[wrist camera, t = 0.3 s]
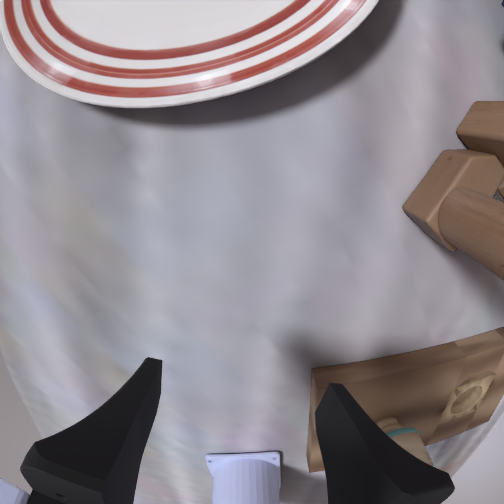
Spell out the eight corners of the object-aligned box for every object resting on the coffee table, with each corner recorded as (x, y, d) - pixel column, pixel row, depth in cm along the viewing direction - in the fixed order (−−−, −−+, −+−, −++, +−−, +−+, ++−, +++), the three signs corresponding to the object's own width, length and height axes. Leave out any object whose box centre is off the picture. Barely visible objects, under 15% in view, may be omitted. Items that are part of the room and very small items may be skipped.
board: (480, 408, 30) (488, 421, 28) (306, 455, 30) (309, 472, 28) (518, 321, 25) (531, 333, 23) (312, 368, 25) (317, 389, 23)
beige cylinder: (402, 434, 26) (422, 482, 20) (355, 445, 26) (370, 498, 20) (414, 402, 24) (441, 454, 18) (363, 414, 24) (383, 472, 18)
